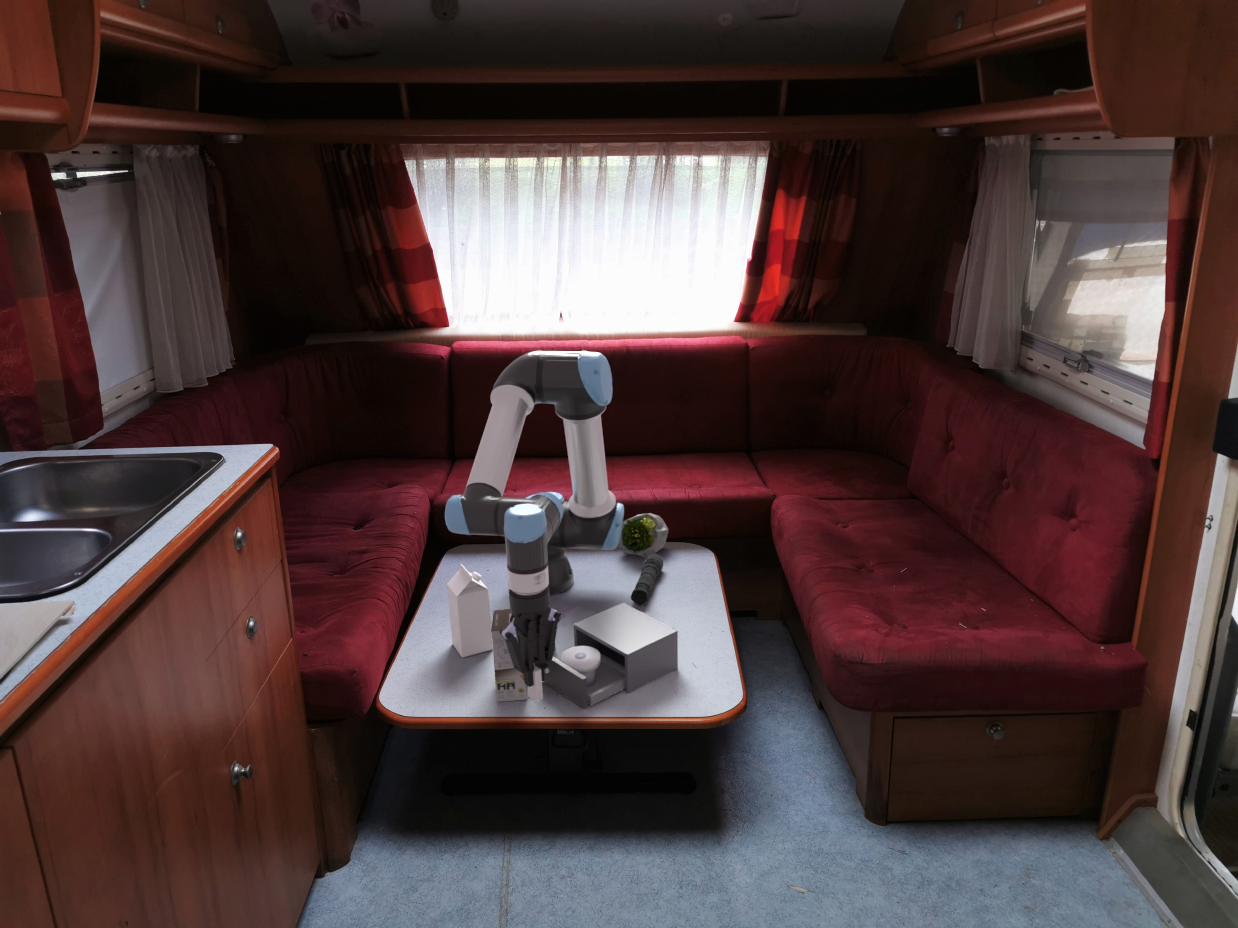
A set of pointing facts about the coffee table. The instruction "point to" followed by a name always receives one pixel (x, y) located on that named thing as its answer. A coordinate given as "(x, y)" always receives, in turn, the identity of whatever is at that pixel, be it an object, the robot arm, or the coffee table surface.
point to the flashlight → (647, 579)
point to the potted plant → (643, 535)
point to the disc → (581, 658)
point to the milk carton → (469, 613)
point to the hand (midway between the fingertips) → (535, 697)
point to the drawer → (586, 681)
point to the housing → (631, 643)
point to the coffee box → (506, 662)
